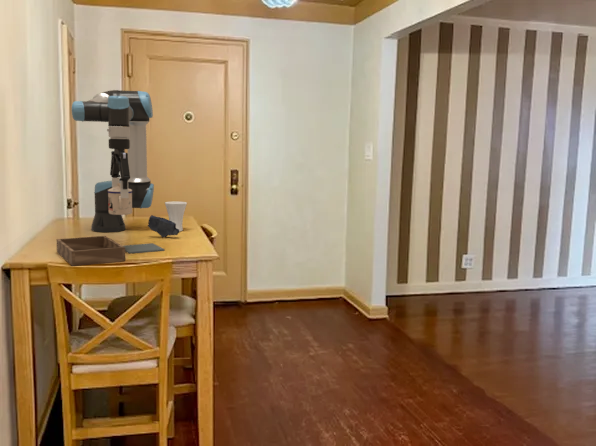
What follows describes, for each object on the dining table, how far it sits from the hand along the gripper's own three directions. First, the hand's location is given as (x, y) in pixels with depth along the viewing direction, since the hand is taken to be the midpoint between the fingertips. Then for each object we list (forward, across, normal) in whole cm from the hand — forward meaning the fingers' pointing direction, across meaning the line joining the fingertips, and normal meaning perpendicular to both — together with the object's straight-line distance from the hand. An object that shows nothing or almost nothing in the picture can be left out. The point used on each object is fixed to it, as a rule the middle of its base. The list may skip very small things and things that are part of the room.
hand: (120, 196), depth 212 cm
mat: (+22, -2, +8) cm, 23 cm away
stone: (+22, -24, +25) cm, 41 cm away
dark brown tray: (+21, +4, -12) cm, 25 cm away
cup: (+22, -40, +36) cm, 58 cm away
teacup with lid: (+7, 0, 0) cm, 7 cm away
